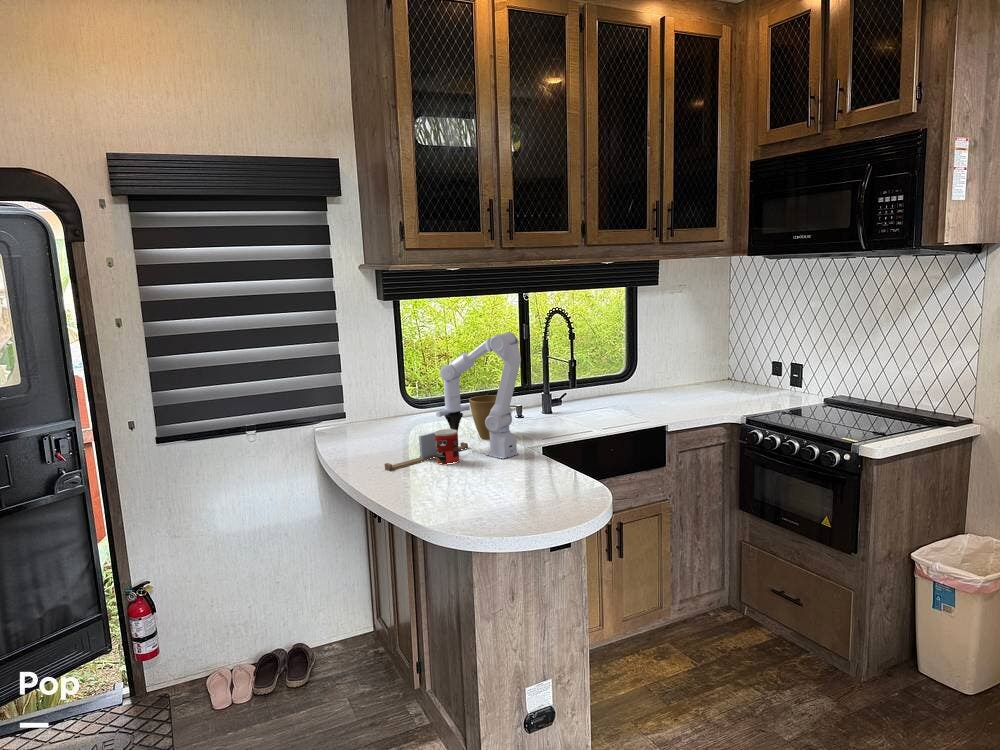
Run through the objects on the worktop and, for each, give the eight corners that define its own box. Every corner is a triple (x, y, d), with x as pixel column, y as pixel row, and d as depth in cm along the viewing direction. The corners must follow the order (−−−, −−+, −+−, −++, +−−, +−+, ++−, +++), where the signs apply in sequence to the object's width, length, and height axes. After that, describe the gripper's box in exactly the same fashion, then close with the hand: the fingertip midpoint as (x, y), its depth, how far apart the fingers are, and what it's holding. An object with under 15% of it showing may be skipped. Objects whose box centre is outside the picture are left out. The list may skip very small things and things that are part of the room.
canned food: (434, 461, 245) (431, 431, 244) (455, 457, 248) (453, 427, 247) (440, 466, 238) (438, 435, 237) (462, 462, 241) (460, 432, 240)
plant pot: (485, 444, 265) (483, 403, 263) (464, 438, 277) (461, 398, 274) (516, 437, 274) (514, 397, 271) (494, 431, 285) (492, 393, 283)
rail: (468, 448, 260) (467, 443, 260) (389, 470, 236) (389, 465, 236) (463, 447, 262) (462, 442, 262) (385, 469, 238) (384, 463, 238)
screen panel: (445, 452, 253) (443, 431, 252) (423, 458, 246) (421, 436, 245) (441, 451, 255) (440, 430, 253) (419, 457, 248) (418, 435, 247)
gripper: (460, 392, 263) (462, 427, 265) (430, 398, 253) (432, 434, 255) (472, 394, 258) (474, 429, 260) (442, 400, 248) (444, 437, 250)
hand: (454, 432), depth 257 cm, fingers closed
